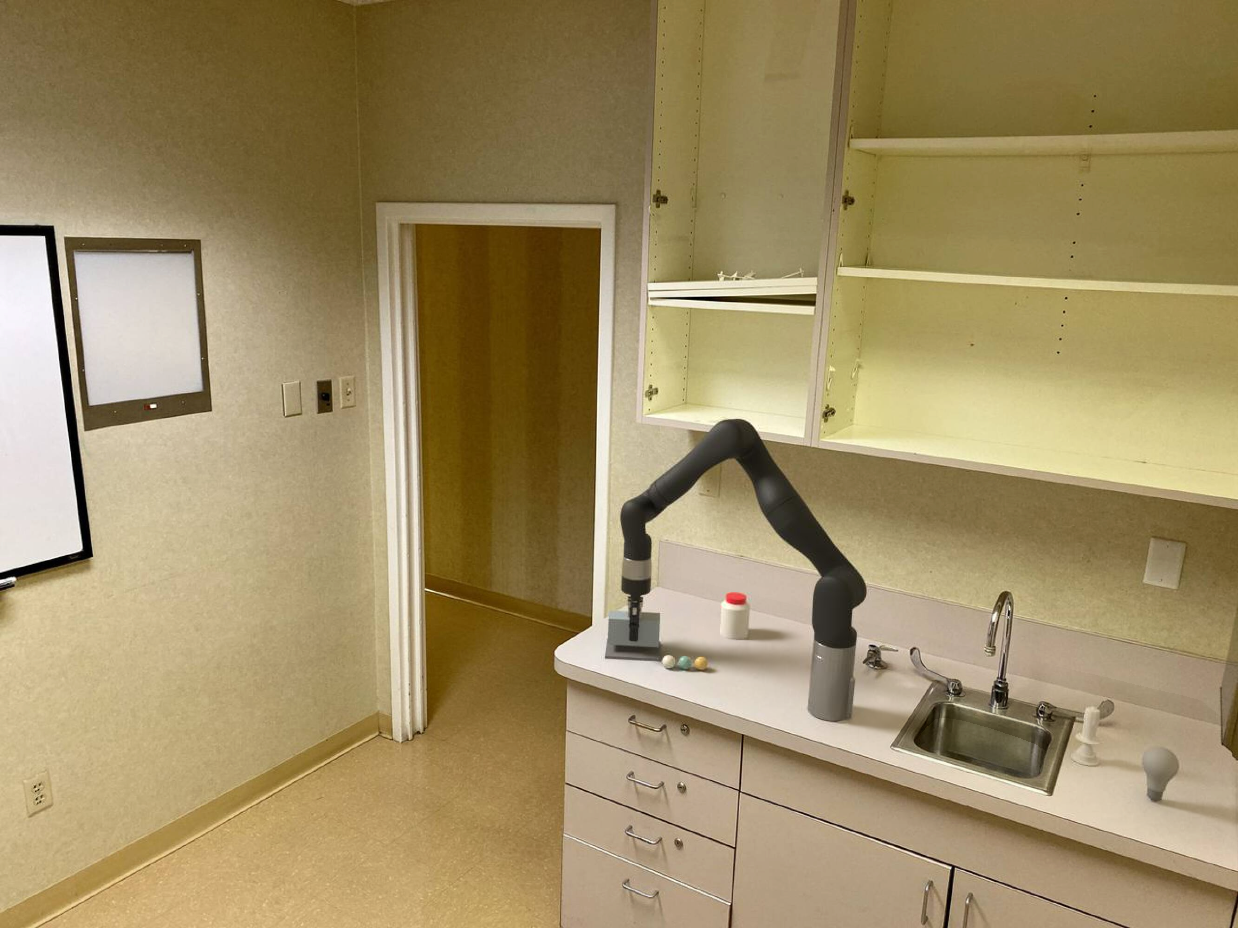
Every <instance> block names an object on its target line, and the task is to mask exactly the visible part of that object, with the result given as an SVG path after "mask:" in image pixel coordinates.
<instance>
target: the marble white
mask: <svg viewBox="0 0 1238 928" xmlns="http://www.w3.org/2000/svg"><path fill="white" fill-rule="evenodd" d="M661 663H662V666H663V667H664V668H665V669H672V668H673V667H675V665H676V660H675V657H674V656H673V655H670V654H667V655H664V657H663V658H662V660H661Z"/></svg>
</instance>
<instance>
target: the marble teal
mask: <svg viewBox="0 0 1238 928" xmlns="http://www.w3.org/2000/svg"><path fill="white" fill-rule="evenodd" d="M691 666H692V659H691V658H690V657H689V656H687V655H683V656H681V657H680V658H679V659H678V667H680V668H681V669H682V670H688V669H690V667H691Z"/></svg>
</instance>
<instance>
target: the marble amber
mask: <svg viewBox="0 0 1238 928" xmlns="http://www.w3.org/2000/svg"><path fill="white" fill-rule="evenodd" d="M694 667H695V668H696V669H697V670H698V671H703V670H705V669H706V668H708V660H707V658H705V657H704V656H698V657H696V659H695V660H694Z"/></svg>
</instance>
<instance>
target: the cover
mask: <svg viewBox="0 0 1238 928" xmlns="http://www.w3.org/2000/svg"><path fill="white" fill-rule="evenodd" d="M639 613H640V612H639ZM629 619H630V618H628V610H627V611H626V610H625V611H624V610H609V613H608V620H607V621H608V627H607V639H608V645H627V646H646V647H659V641H660V628H661V627H660V626H661V613H660V612H650V611H647V612H645V611H642V613H641V618H640V619H639V625H640V626H639V628H638V641H637V642H634V641H630V640H629V633H630V628H629ZM631 623H637V621H634V620H632V621H631Z"/></svg>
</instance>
